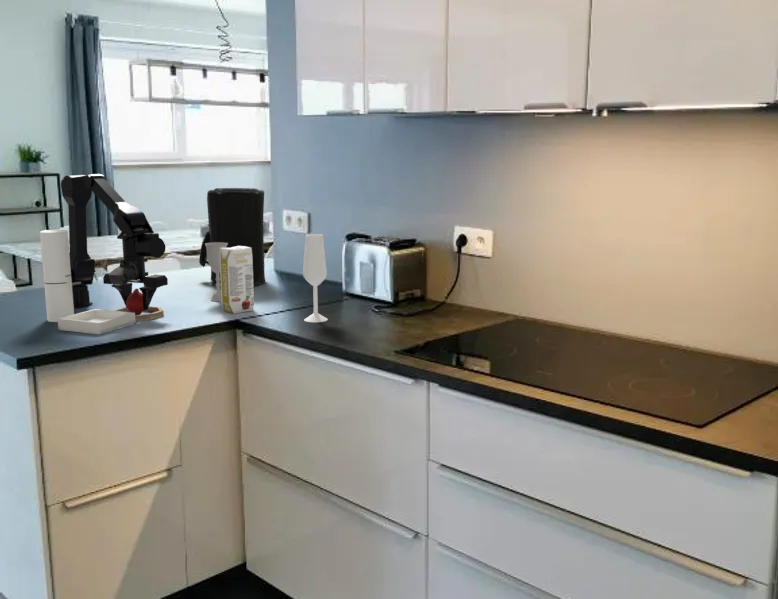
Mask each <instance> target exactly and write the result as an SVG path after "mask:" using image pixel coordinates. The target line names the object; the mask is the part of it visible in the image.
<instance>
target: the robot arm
mask: <svg viewBox="0 0 778 599" xmlns="http://www.w3.org/2000/svg"><path fill="white" fill-rule="evenodd" d="M60 187H61V188H60V189H61V195H62V197H63V199H64V201H65V202H66V204H67V207H68V208H67V210H68V242H69V255H70V268H71V280H72V293H73V306H74V309H75V308H76V309H78V308H79V309H80V308H83V307H86V306H91V305H93V304H94V303H93V302H92V301H90V290H89V285H93V283H94V282H93V281H94V276H95V272H96V267H95V266H96V260H95V259H94V258H92V257H91V256H90V255H89V253H88V223H87V216H88V215H87V205H88V203H89V202H90V200H91V198H92V194H94V195H95V196H96V198H98V199H99V200H100V201H101V203H103V205H104V206H105V207H106V209H108V210H109V211H110V213H111V214H112V218H113V222H114V224H115V225H116V227H117V229H119V231H120V233H118V235H117V236H116V238H117V239H118V240H121V242H122V245H121V246H122V256H123V257H122V259H120V261H119V266H117V267H115V268H114V269H112V270H111V271H109V272H108V273H105V274H104V275H103V277H102V279H103V281H102V282H103V284H104V285H110V286H111V288H113V289H115V290H117V291H118V292H119V294H120V296H121V299H122V301H123V303H124V305H125V307H126V308H127V306H126V301H127V298H128V297H129V295H130V294H131V293H133V283H134V284H143V286H141V287H139V288H138V289H139V291H140V293H142V296H143V307H144V310H147V309H148V307H149V306H151V302H152V300H153V297H154V295H155V293H156V292H157V289H159V288H160V287H163V286H168V284H169V283H168V282H169V281H168V278H167V276H166V275H165V274H153V275H149V272H148V271H146V264H145V263H147V262H148V258H152V259H153V258H154V259H158V258H161V257H163V256H164V254H165V252H166V244H165V242H164V240H163V239H162V238H161V237H160V233H158V232H154V230H153V228H152V226H151V225H150V223H149V221H148V218H147V217H146V215H145V213H144V212H143V211H142V210H140V208H138V207H136V206H135V205H132V204H129V203H128V202H127V201H125V199H124V198H122V196H121V195H120V194H119V193H118V192H117V191H116V189H114V188H113V187H112V185H110V183H109V182H108V181H107V180H106V176H104V175H103V174H101V173H91V174H90V173H89V174H77V175H76V174H75V175H71V174H70V175H69V174H68V175H65V176H64V177H63V178H62V179H61V181H60Z"/></svg>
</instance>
